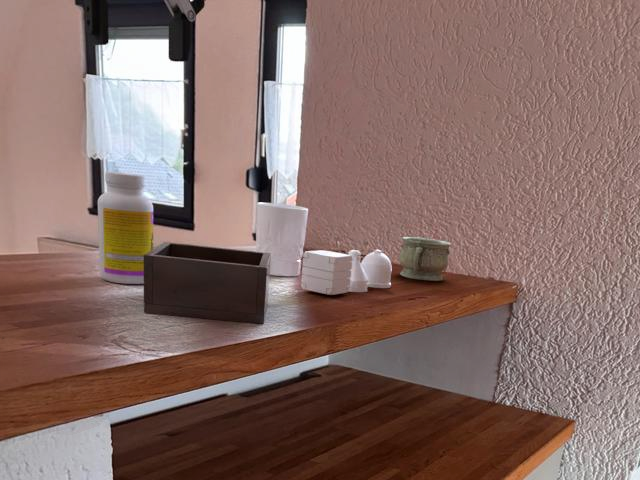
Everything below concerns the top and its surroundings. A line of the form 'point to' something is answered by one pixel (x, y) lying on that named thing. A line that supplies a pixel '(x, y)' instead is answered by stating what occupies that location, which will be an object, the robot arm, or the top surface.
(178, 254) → the box
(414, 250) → the vessel
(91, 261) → the top surface
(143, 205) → the supplement bottle
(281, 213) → the white cup
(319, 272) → the container set
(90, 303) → the top surface
